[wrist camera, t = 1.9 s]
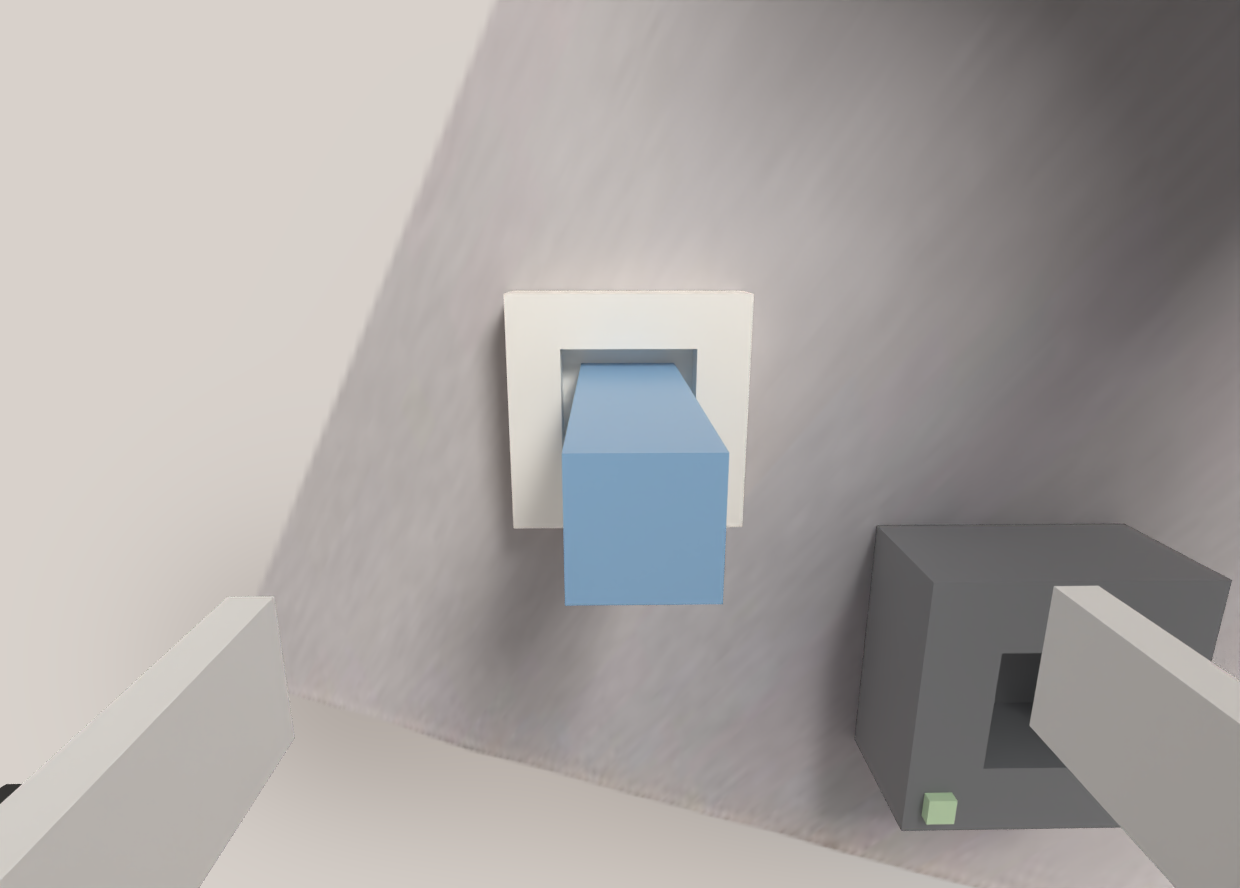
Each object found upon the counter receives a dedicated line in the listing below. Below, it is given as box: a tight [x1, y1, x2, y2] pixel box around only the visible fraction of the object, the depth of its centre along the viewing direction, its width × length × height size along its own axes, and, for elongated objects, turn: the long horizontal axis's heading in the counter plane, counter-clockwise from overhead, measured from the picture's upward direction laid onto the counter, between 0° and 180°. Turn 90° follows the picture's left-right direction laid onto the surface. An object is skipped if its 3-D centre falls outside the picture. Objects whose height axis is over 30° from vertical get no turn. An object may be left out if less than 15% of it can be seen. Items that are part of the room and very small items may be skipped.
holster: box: [503, 291, 754, 529], centre depth 30 cm, size 10×10×2 cm
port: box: [855, 524, 1232, 831], centre depth 32 cm, size 12×12×6 cm
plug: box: [562, 363, 729, 606], centre depth 24 cm, size 4×4×14 cm
